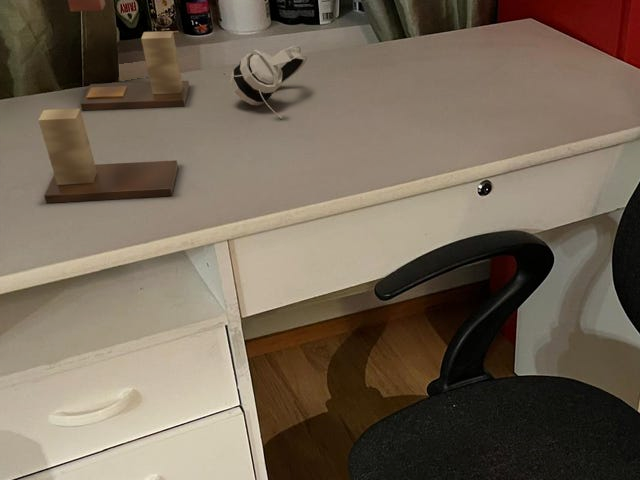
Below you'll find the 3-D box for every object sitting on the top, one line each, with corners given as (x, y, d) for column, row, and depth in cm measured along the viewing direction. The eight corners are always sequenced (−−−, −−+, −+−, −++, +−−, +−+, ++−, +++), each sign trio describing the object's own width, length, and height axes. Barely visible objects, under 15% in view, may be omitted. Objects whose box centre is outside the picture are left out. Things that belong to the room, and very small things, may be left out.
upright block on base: (82, 110, 122) (65, 46, 117) (91, 90, 128) (76, 28, 123) (184, 106, 124) (172, 42, 119) (189, 86, 131) (178, 25, 125)
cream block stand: (46, 203, 100) (23, 128, 94) (60, 173, 106) (39, 102, 100) (171, 196, 102) (156, 122, 96) (178, 167, 108) (164, 97, 103)
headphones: (184, 120, 119) (279, 83, 133) (240, 138, 115) (331, 97, 130) (176, 60, 114) (275, 28, 129) (234, 76, 110) (329, 41, 125)
